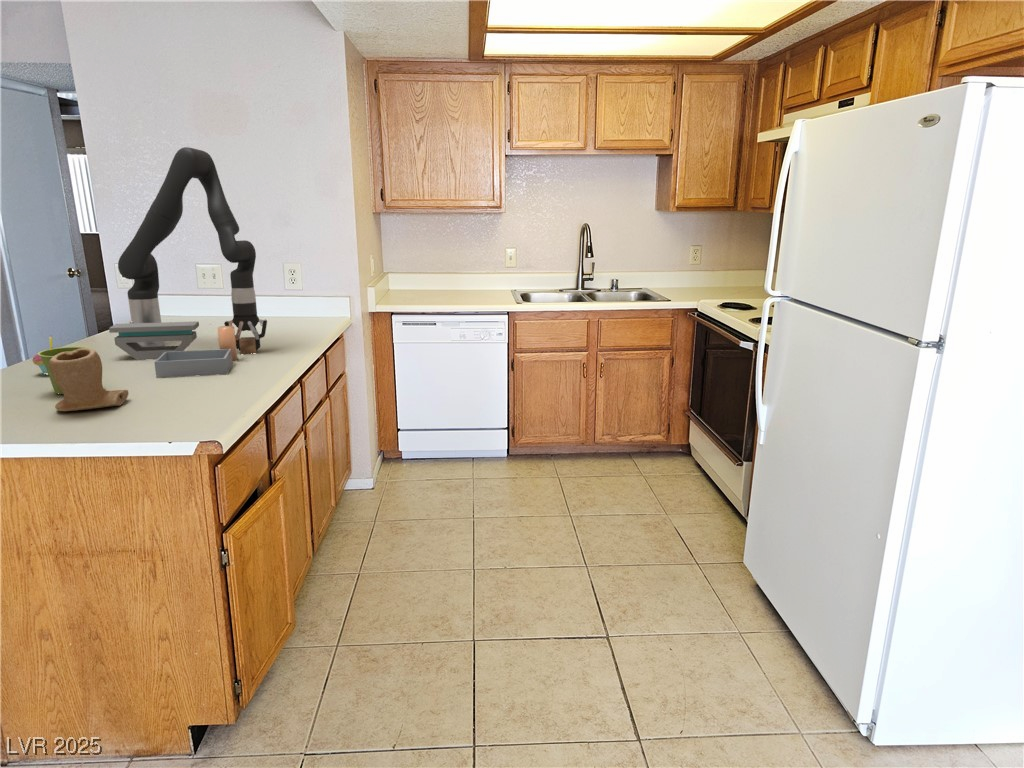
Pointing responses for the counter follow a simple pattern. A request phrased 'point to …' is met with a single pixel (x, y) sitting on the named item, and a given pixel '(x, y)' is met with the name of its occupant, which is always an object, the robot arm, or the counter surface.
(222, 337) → the peach dome-topped cylinder
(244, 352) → the cube
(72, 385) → the tan hollow clay piece
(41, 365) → the cupcake
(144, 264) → the robot arm
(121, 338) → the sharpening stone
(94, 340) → the counter surface
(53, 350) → the plant pot
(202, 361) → the tote
